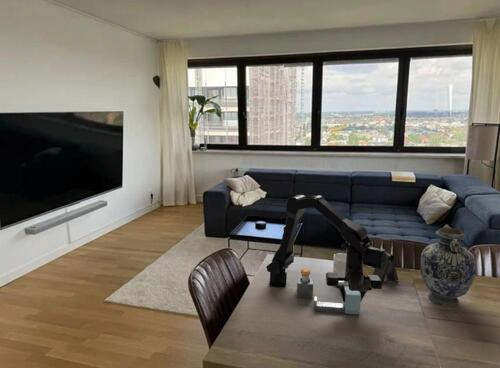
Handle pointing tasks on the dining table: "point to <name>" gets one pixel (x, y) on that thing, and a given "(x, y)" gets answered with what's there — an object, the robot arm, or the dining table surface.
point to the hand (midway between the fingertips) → (351, 302)
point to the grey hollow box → (304, 288)
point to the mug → (340, 265)
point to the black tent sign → (387, 270)
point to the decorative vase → (447, 267)
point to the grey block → (352, 301)
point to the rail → (328, 306)
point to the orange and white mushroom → (305, 275)
